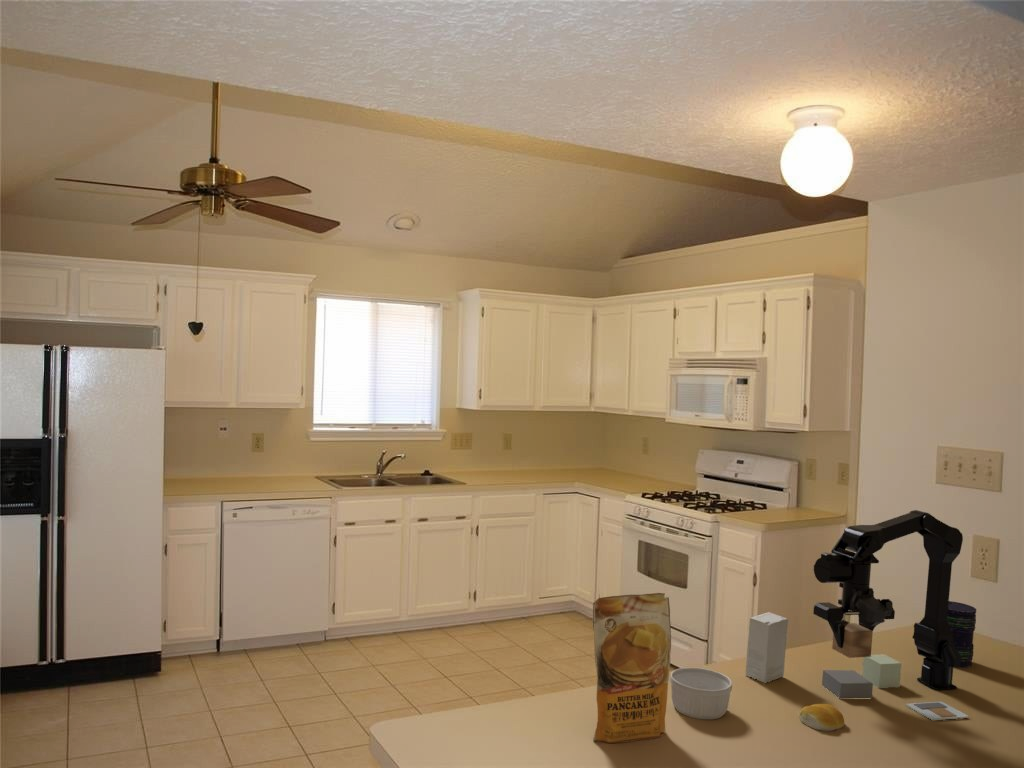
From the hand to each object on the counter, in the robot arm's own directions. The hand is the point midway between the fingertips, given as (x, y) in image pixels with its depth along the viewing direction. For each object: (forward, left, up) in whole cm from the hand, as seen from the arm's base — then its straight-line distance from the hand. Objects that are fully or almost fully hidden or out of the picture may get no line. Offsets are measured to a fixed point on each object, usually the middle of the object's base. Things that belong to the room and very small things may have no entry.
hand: (851, 646), depth 194 cm
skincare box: (+15, -11, -11) cm, 22 cm away
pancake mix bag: (+62, +13, -11) cm, 64 cm away
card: (-14, +13, -11) cm, 22 cm away
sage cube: (-13, -4, -11) cm, 18 cm away
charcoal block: (0, 0, -11) cm, 11 cm away
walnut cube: (0, 0, -1) cm, 1 cm away
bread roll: (+17, +14, -12) cm, 25 cm away
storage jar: (-45, -15, -11) cm, 49 cm away
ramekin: (+41, +4, -11) cm, 43 cm away
